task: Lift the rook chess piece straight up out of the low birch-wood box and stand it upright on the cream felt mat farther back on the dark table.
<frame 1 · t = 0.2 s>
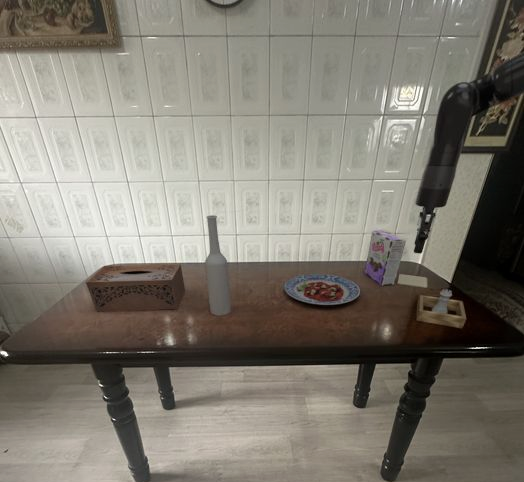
hand: (417, 248, 87), 18 cm above the table, tool pointing down, fingers open, 8 cm apart
bottle: (221, 311, 96), on the table
rook chess piece: (437, 315, 92), resting in wooden box
candy box: (378, 279, 116), on the table
wooden box: (438, 315, 92), on the table
tissue box cover: (143, 301, 102), on the table
ceramic plate: (321, 293, 106), on the table
felt mat: (412, 281, 114), on the table
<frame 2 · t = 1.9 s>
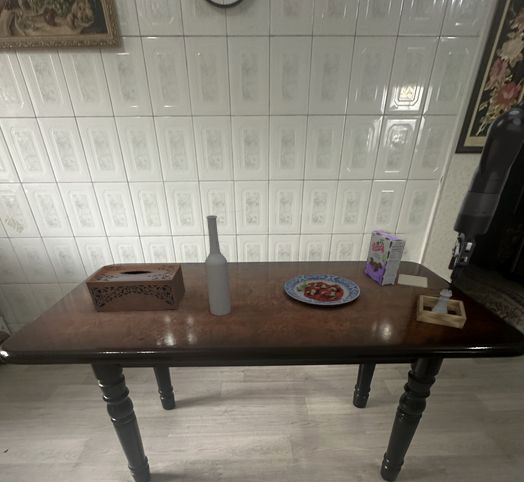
hand: (452, 274, 84), 13 cm above the table, tool pointing down, fingers open, 8 cm apart
nothing on the table moved.
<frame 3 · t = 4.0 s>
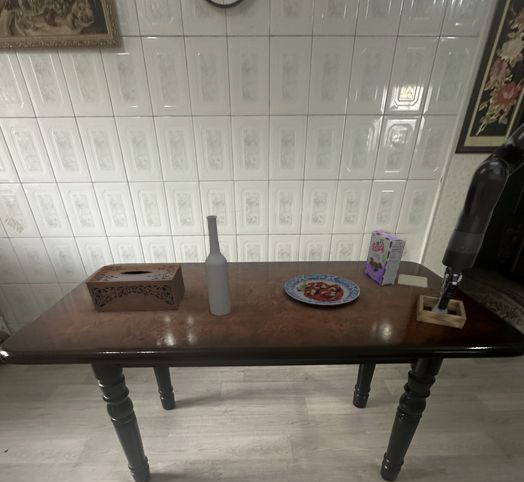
hand: (441, 305, 90), 3 cm above the table, tool pointing down, fingers closed on rook chess piece, 3 cm apart
rook chess piece: (437, 315, 92), resting in wooden box, touching gripper
everything else where it was.
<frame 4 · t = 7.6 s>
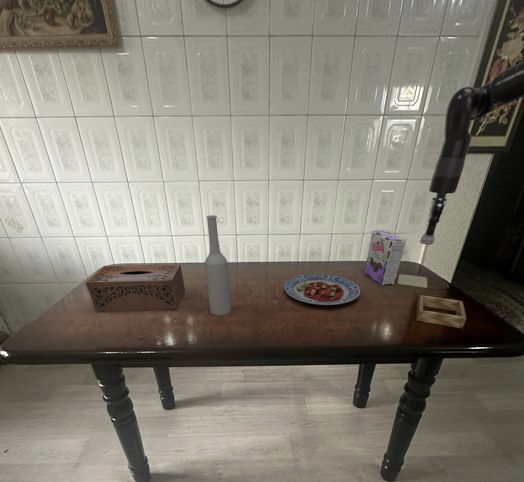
hand: (429, 233, 101), 18 cm above the table, tool pointing down, fingers closed on rook chess piece, 3 cm apart
rook chess piece: (426, 243, 103), point 15 cm above the table, touching gripper
everything else where it was.
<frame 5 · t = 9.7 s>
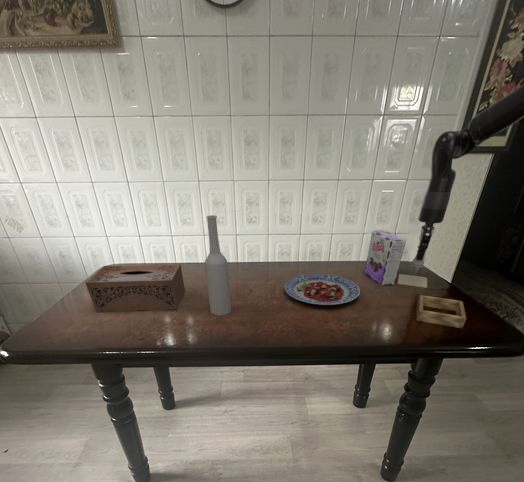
hand: (419, 257, 108), 9 cm above the table, tool pointing down, fingers closed on rook chess piece, 3 cm apart
rook chess piece: (416, 266, 110), point 6 cm above the table, touching gripper
everything else where it was.
when the fingers open (4 cm above the table, at t = 11.3 s): rook chess piece stays where it is, resting on felt mat.
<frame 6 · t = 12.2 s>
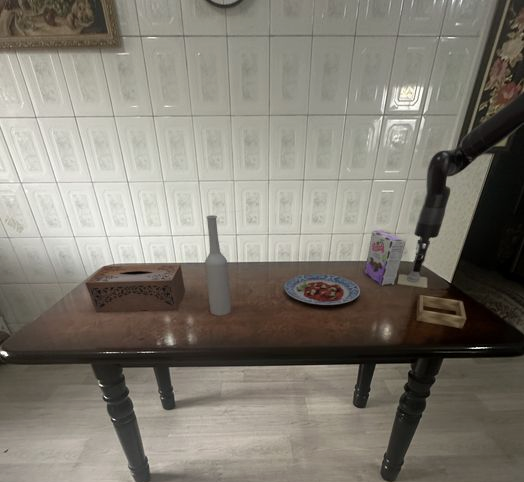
hand: (416, 267, 111), 5 cm above the table, tool pointing down, fingers open, 8 cm apart
rook chess piece: (412, 280, 113), resting on felt mat
everything else where it was.
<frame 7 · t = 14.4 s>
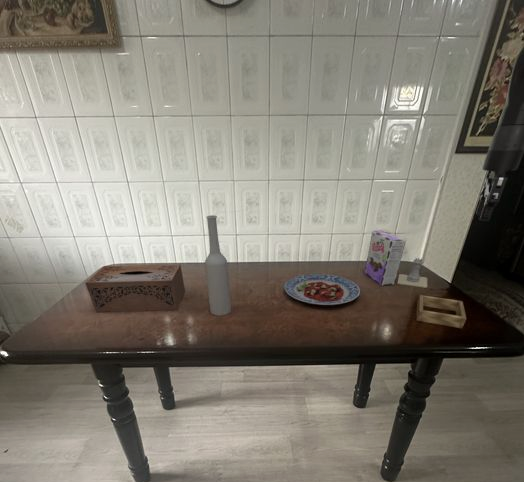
hand: (481, 217, 84), 26 cm above the table, tool pointing down, fingers open, 8 cm apart
nothing on the table moved.
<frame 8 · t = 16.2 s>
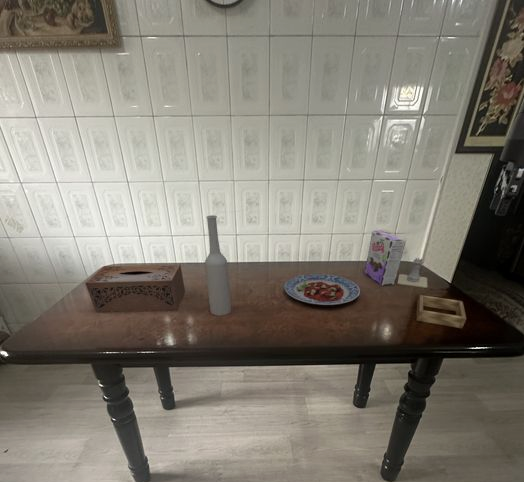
hand: (496, 212, 79), 28 cm above the table, tool pointing down, fingers open, 8 cm apart
nothing on the table moved.
at the end: rook chess piece 0.1 cm off-centre on the felt mat, point 0.2 cm above the felt mat's base; rook chess piece tilted 0°; rook chess piece touching felt mat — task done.
